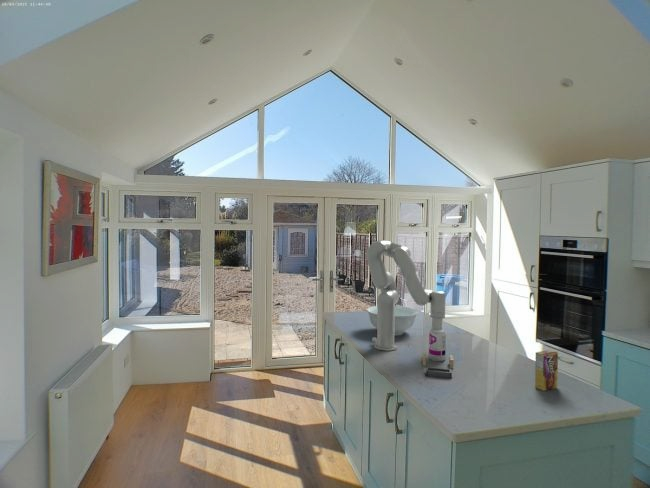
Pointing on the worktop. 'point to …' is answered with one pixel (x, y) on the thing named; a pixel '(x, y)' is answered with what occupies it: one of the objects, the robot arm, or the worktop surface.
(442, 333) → the supplement can
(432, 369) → the pit tray
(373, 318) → the bowl
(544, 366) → the candy box
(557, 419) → the worktop surface
